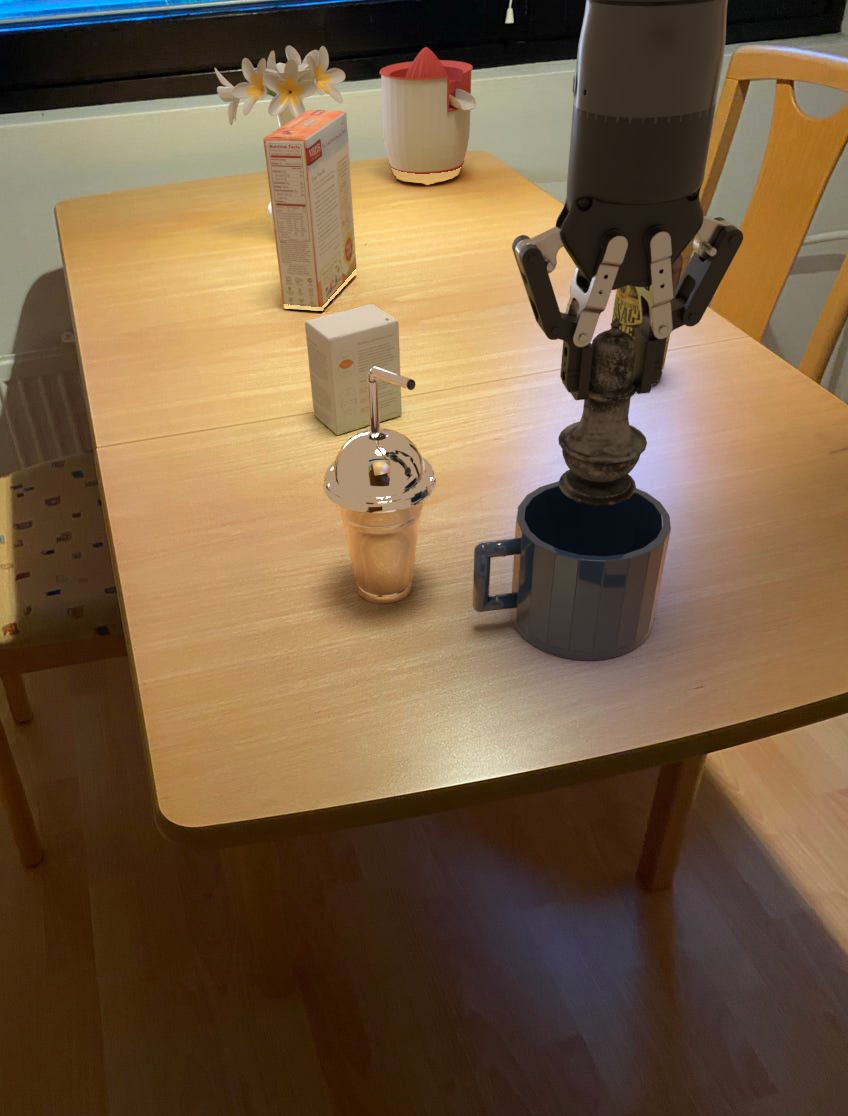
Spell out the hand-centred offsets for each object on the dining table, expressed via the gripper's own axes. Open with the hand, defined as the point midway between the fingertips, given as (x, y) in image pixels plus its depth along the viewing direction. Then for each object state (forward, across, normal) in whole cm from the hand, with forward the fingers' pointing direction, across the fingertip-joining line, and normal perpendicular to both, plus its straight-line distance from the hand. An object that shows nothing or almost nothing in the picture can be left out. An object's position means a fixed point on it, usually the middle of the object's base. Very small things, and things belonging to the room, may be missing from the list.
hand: (608, 390), depth 63 cm
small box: (+19, -13, +37) cm, 44 cm away
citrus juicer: (+19, +11, +125) cm, 127 cm away
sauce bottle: (+19, +18, +39) cm, 47 cm away
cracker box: (+19, -14, +74) cm, 77 cm away
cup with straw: (+19, -15, +6) cm, 25 cm away
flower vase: (+19, -15, +99) cm, 102 cm away
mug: (+19, -2, 0) cm, 19 cm away
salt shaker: (+7, 0, 0) cm, 7 cm away
